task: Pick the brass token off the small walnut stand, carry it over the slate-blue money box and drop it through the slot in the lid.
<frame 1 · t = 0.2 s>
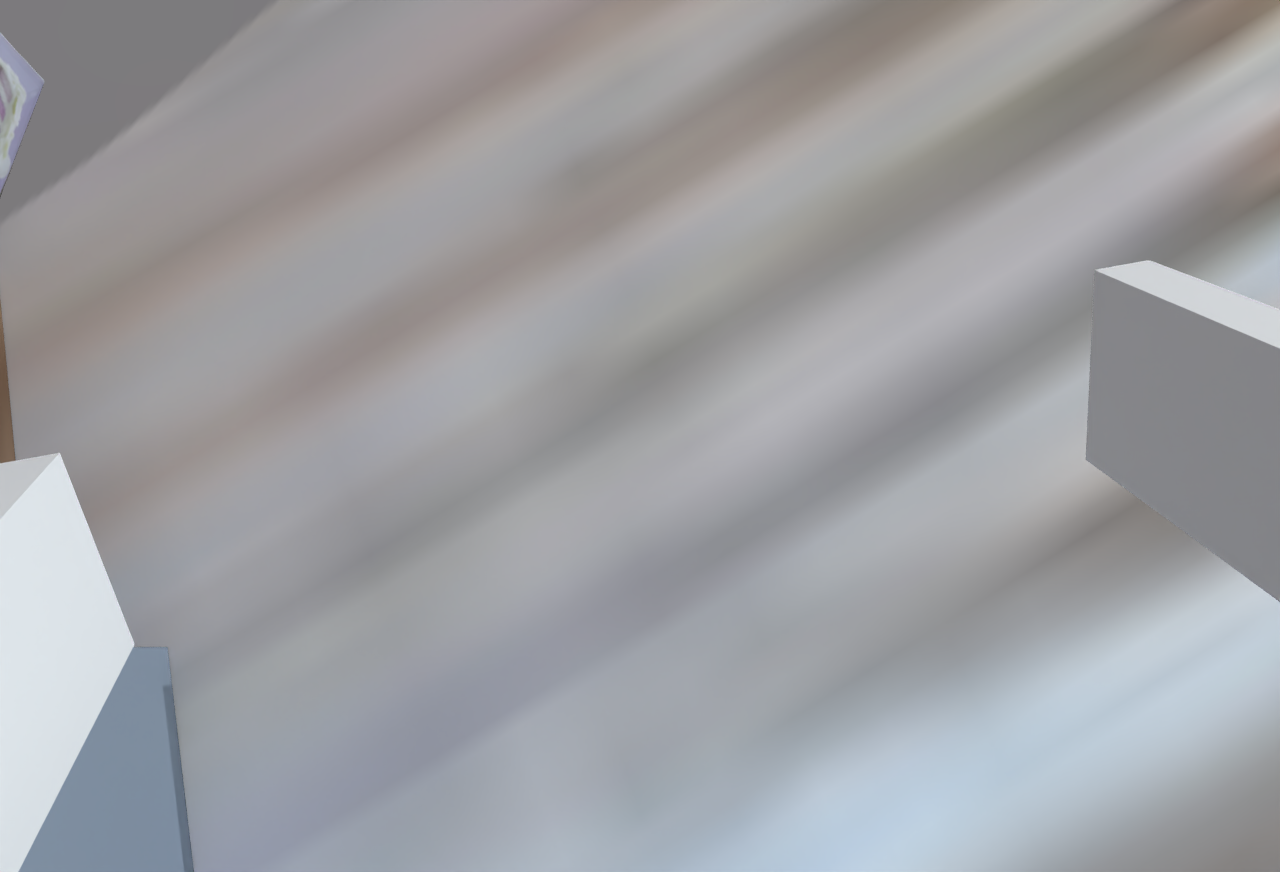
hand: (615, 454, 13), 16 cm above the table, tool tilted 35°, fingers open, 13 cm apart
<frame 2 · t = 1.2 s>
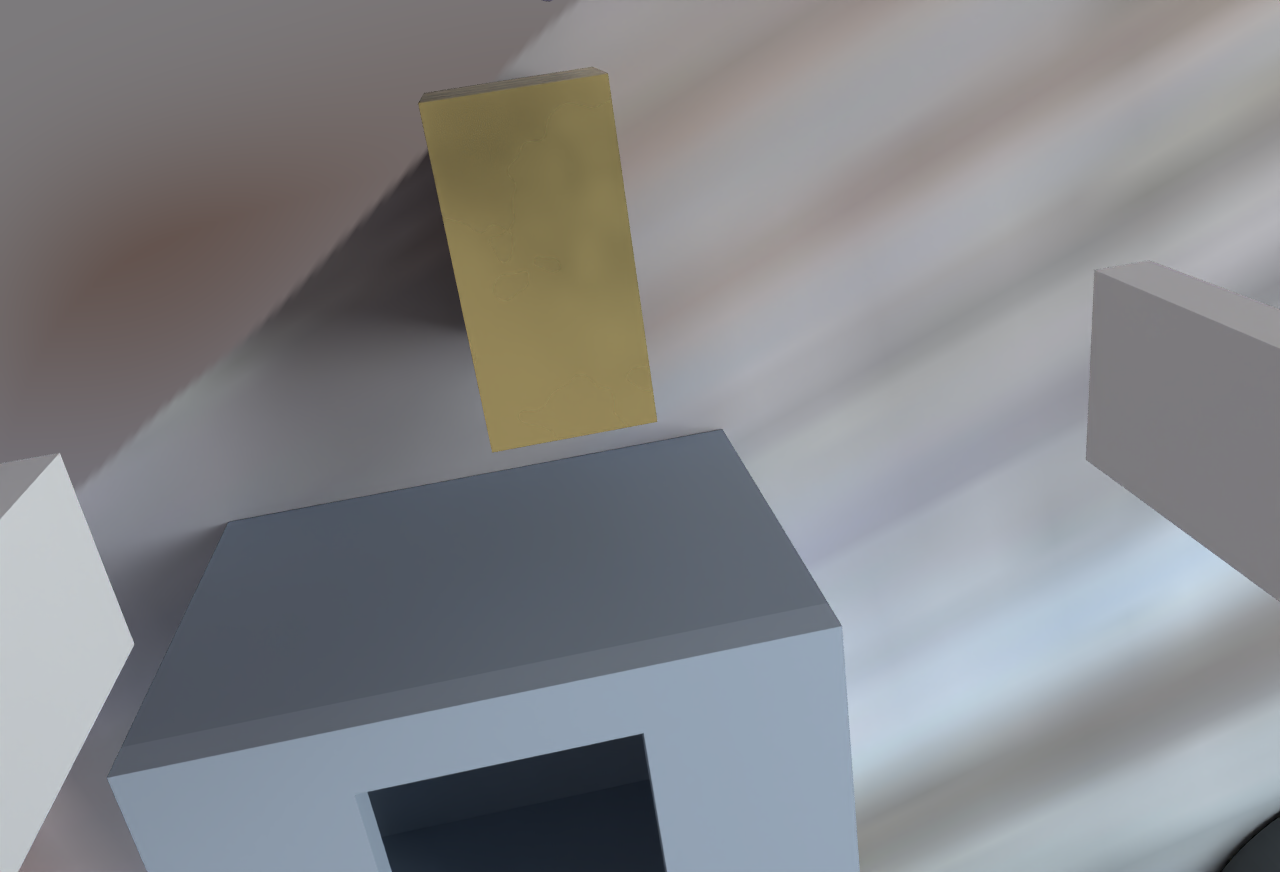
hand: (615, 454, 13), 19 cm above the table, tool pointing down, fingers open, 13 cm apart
money box: (519, 655, 36), on the table
token: (538, 246, 26), point 5 cm above the table, touching stand
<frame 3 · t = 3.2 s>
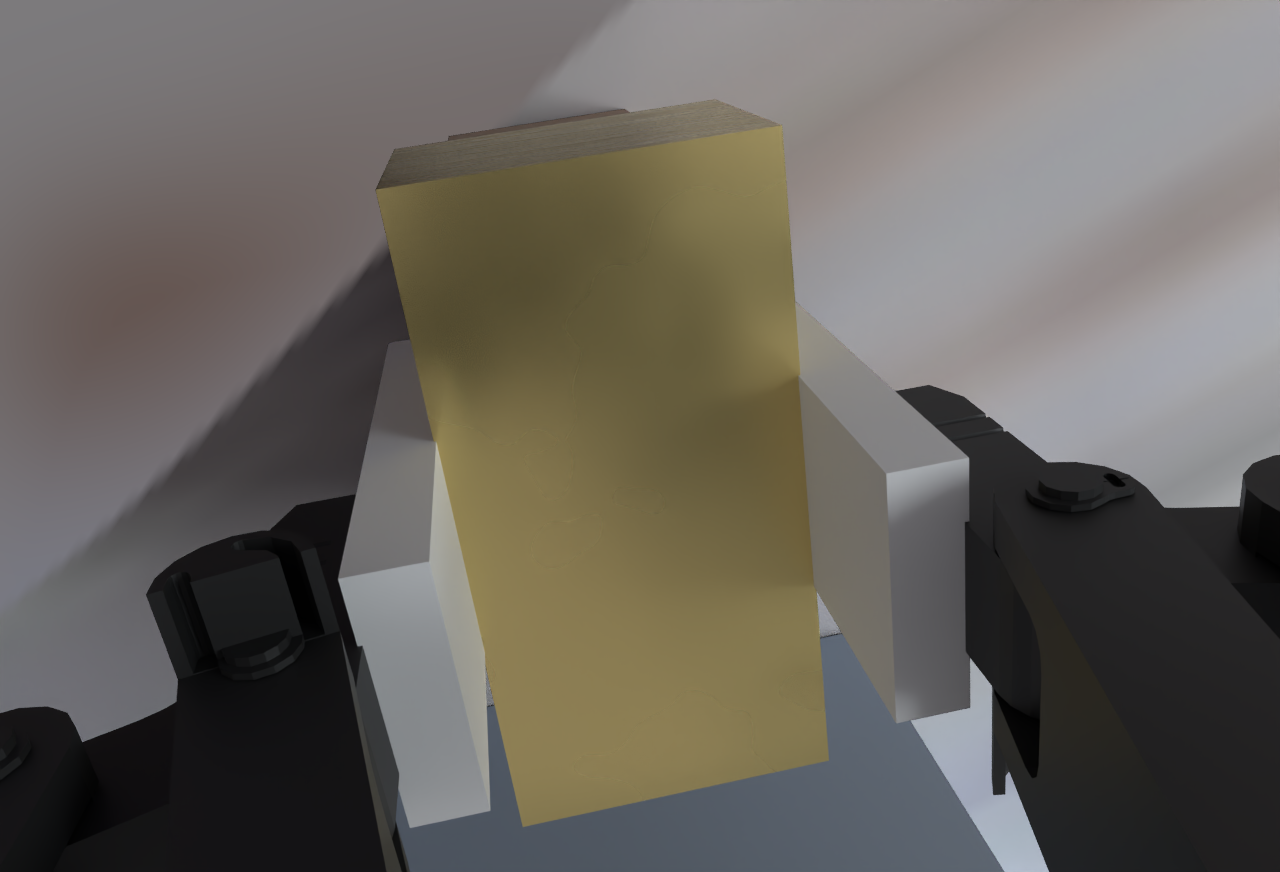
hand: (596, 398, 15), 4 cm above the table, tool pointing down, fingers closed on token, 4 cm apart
stand: (569, 319, 19), on the table
token: (603, 420, 14), point 5 cm above the table, touching gripper, stand
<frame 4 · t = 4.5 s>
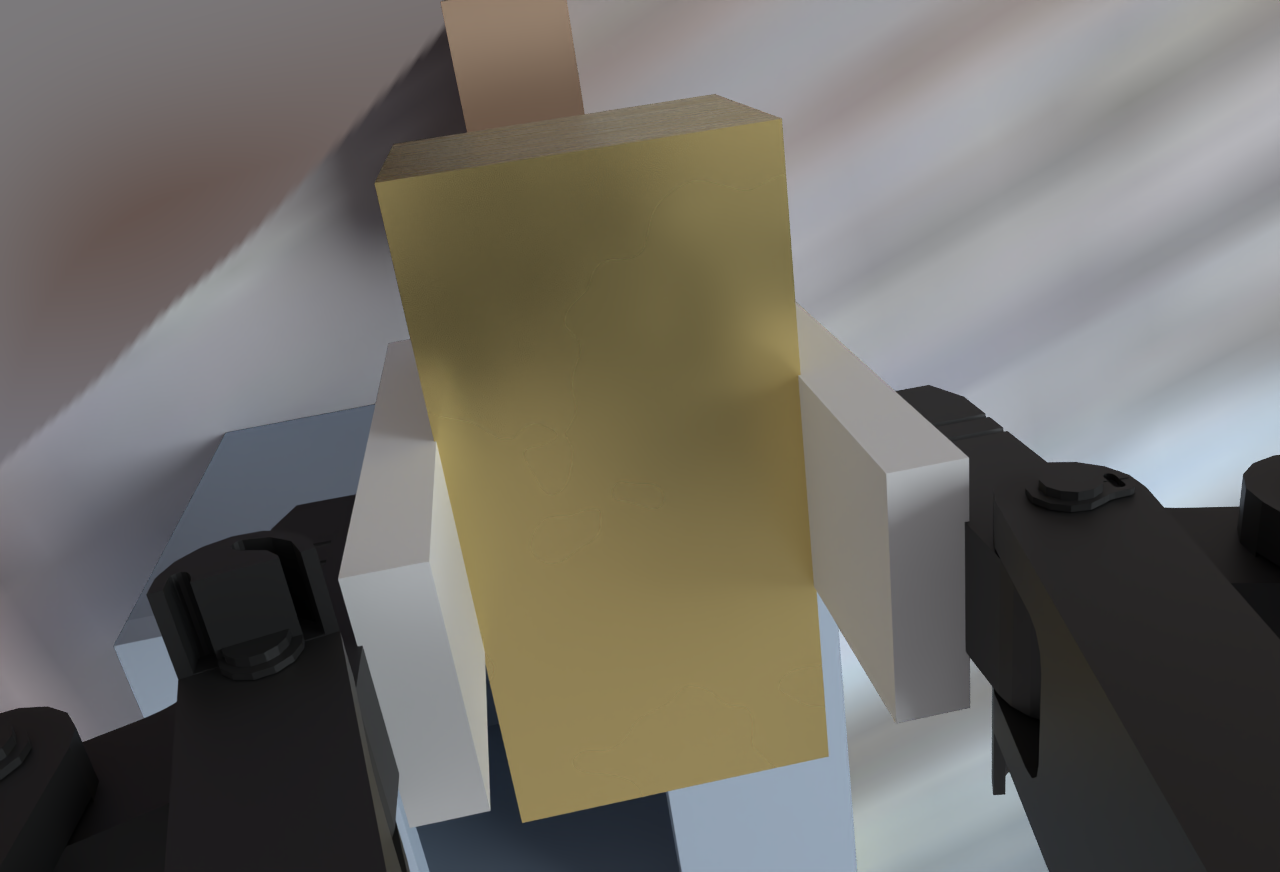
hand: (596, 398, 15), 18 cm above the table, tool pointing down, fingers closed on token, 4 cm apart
money box: (514, 567, 37), on the table
stand: (518, 118, 31), on the table
token: (603, 416, 14), point 19 cm above the table, touching gripper
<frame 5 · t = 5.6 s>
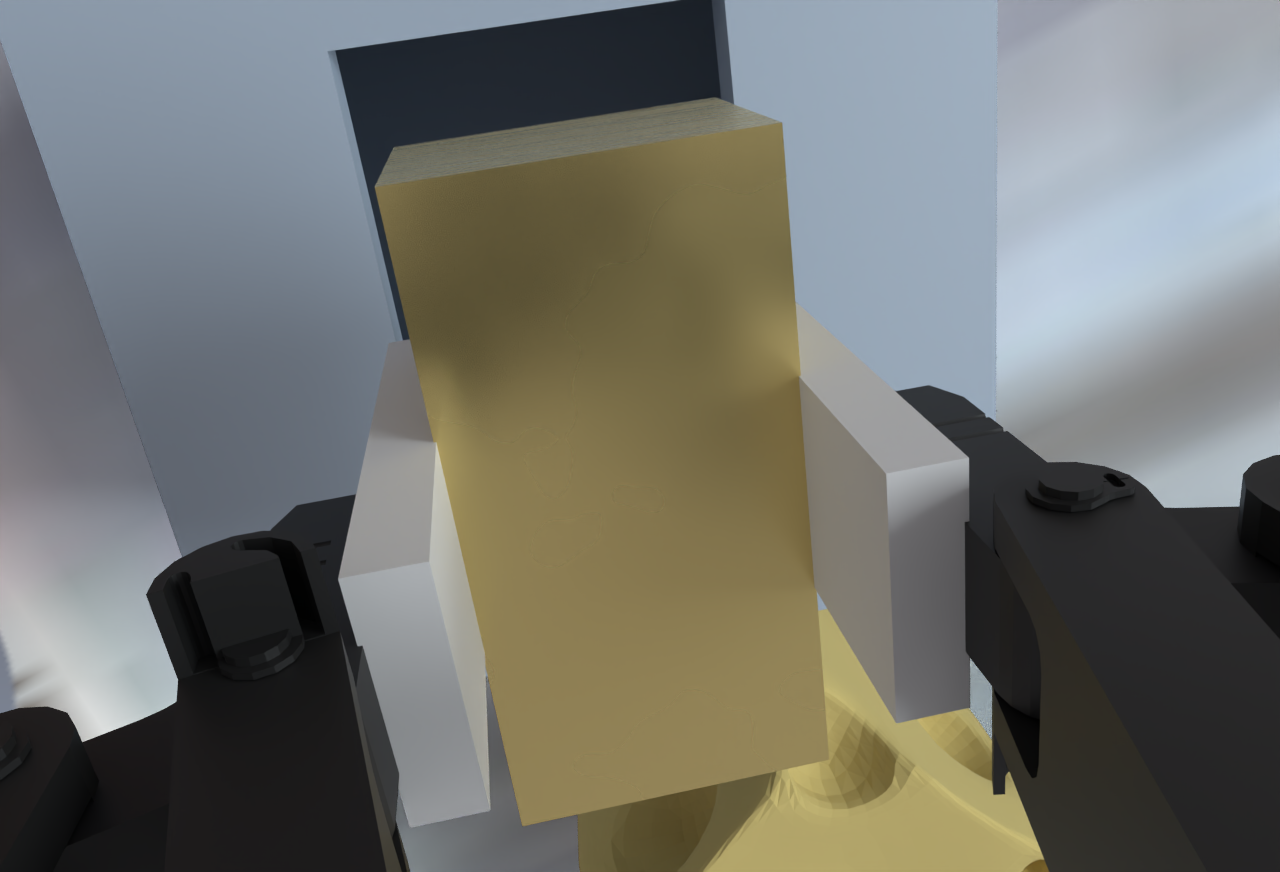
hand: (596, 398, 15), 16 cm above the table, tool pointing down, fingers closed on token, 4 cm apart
money box: (538, 211, 30), on the table
token: (603, 419, 14), point 17 cm above the table, touching gripper
cheese: (761, 704, 38), on the table
when the fingers open (13 cm above the table, at t = 6.2 s): token drops 13 cm, resting on money box.
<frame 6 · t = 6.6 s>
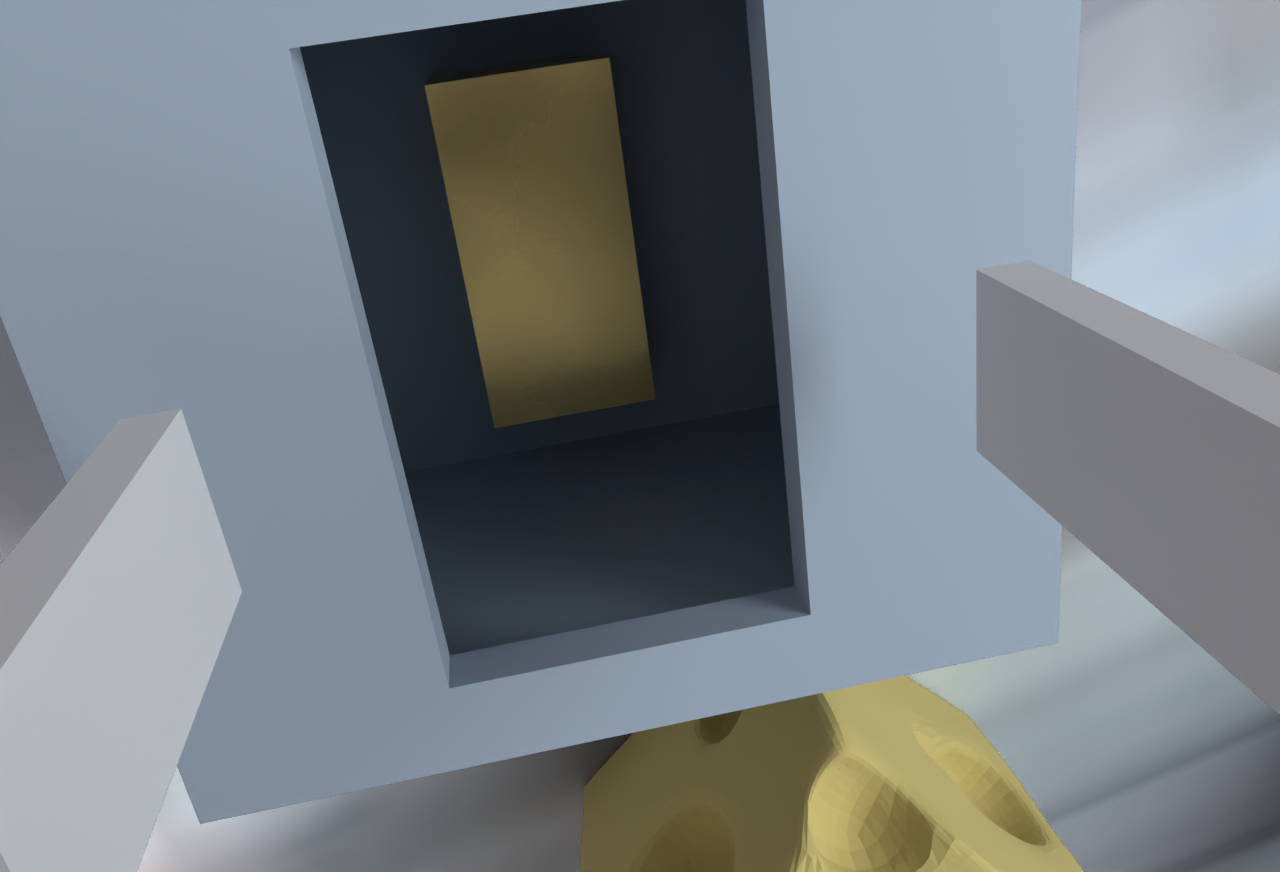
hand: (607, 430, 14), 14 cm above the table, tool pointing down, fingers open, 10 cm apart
money box: (537, 224, 27), on the table
token: (539, 228, 27), point 1 cm above the table, touching money box
cheese: (776, 749, 36), on the table
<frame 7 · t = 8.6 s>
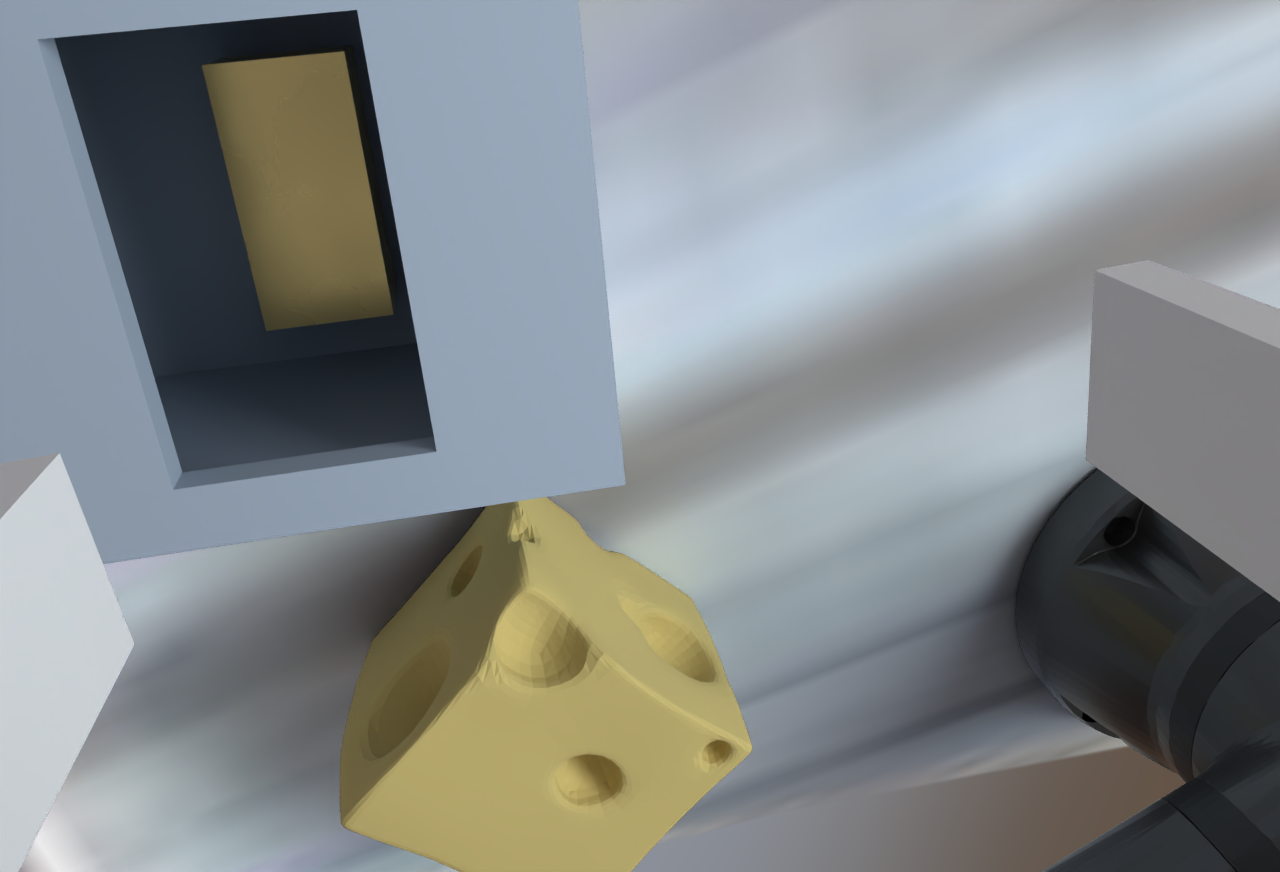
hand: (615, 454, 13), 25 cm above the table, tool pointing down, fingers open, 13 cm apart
money box: (316, 177, 35), on the table
token: (314, 180, 34), point 1 cm above the table, touching money box
cheese: (534, 620, 44), on the table
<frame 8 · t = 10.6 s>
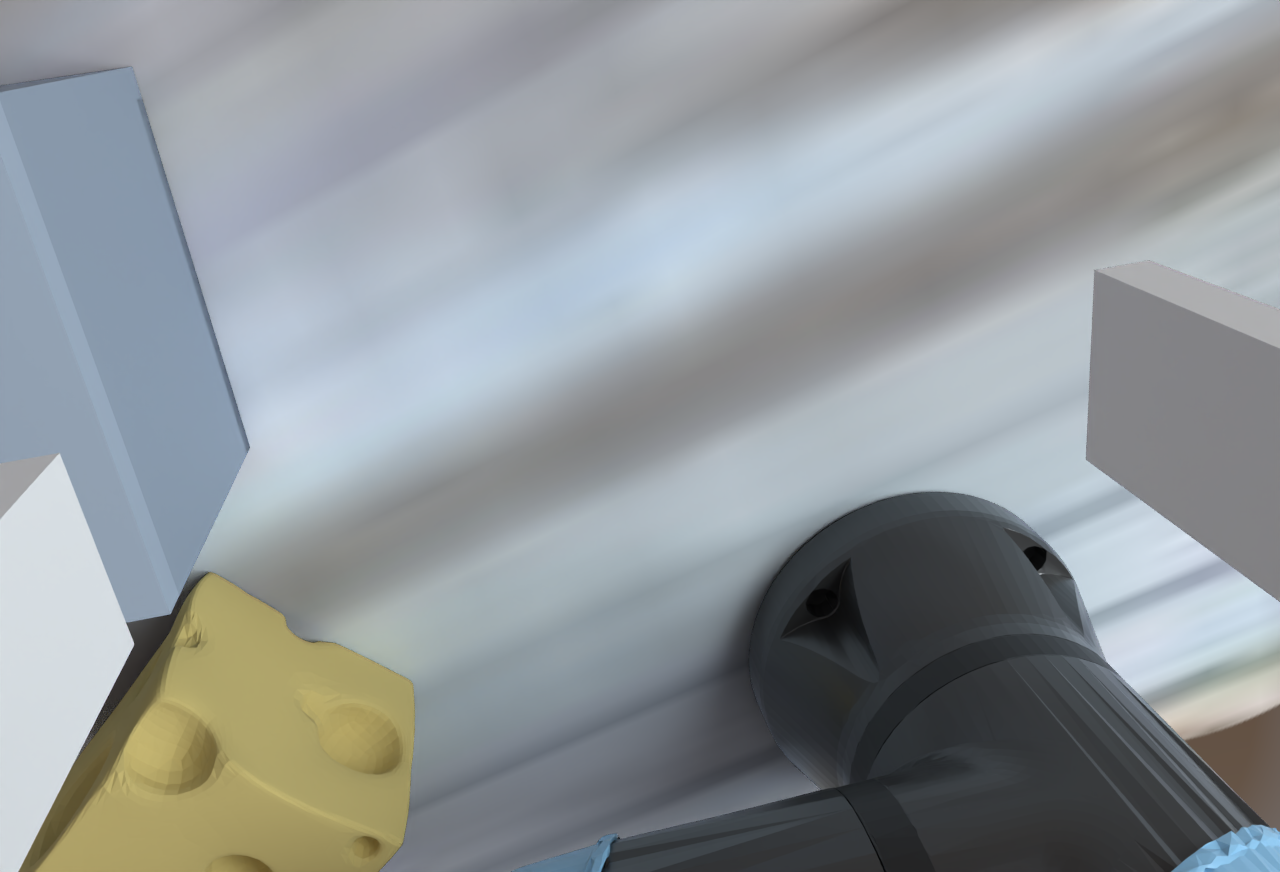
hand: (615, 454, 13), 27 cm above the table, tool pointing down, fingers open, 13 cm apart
cheese: (258, 708, 45), on the table
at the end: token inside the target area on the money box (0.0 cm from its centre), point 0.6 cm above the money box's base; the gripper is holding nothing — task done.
